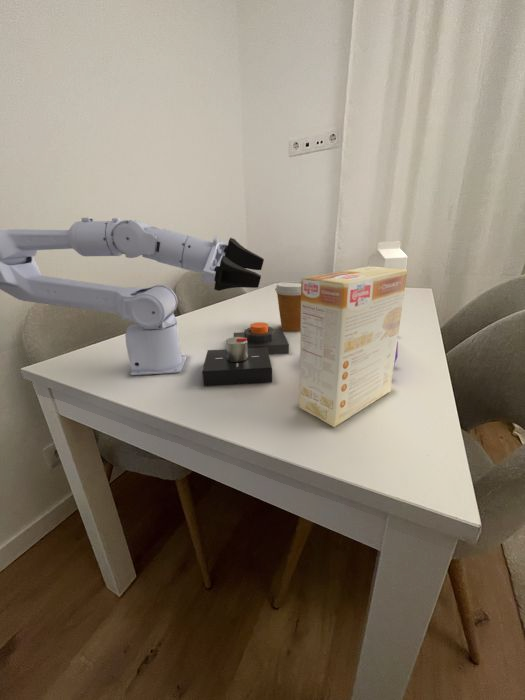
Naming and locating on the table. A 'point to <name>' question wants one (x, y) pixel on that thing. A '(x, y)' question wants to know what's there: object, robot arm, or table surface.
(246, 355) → the knob
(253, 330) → the button
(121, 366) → the table surface
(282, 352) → the button block
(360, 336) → the coffeecake box
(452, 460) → the table surface
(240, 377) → the dial panel
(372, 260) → the milk
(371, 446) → the table surface
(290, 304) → the disposable coffee cup
